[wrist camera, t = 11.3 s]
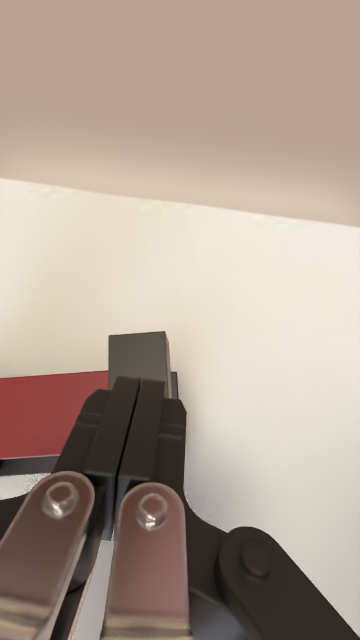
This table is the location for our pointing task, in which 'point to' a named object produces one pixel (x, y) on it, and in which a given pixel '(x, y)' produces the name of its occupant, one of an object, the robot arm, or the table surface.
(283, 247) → the table surface
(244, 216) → the table surface
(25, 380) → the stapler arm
